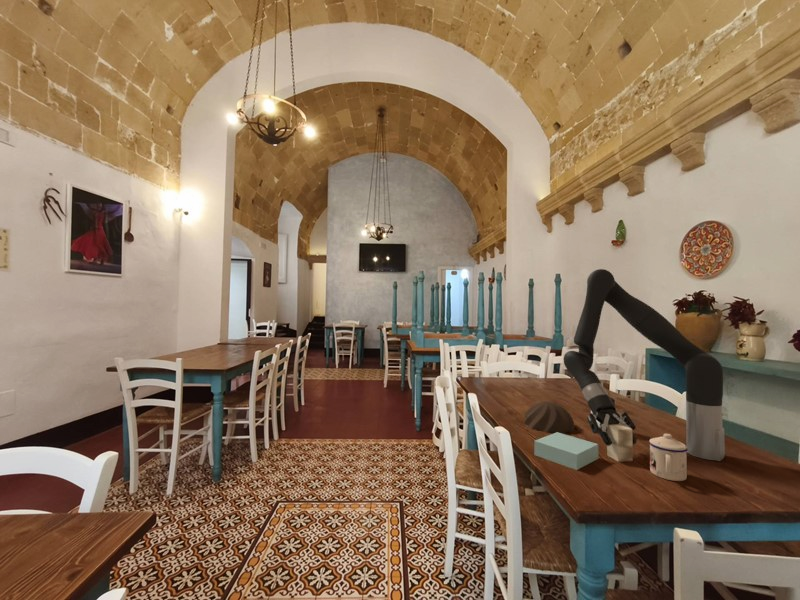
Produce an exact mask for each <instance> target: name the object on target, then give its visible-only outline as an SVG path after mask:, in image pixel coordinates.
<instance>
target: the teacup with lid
mask: <svg viewBox="0 0 800 600" xmlns="http://www.w3.org/2000/svg"><path fill="white" fill-rule="evenodd" d="M648 444H649V470H650V473H651V474H653V475H654V476H656V477H658V478H661V479H663V480H668V481H673V482H683V481H686V480H687V478H688V475H687V474H688V473H687V471H688V470H687V465H688V464H687V460H688V459H687V454H688V452H687V450H688V449H687V447H686V444H685V443H683V442H682V441H679V440H677V439H675V438H673V436H672V434H670V433H663V436H659V437H652V438H650V439H649V441H648Z"/></svg>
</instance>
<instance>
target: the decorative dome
mask: <svg viewBox="0 0 800 600" xmlns="http://www.w3.org/2000/svg"><path fill="white" fill-rule="evenodd" d="M524 414H525V415H524V419H525V420H524V421H523V425H525V424H526V426H527V425H528V426H527V427H529V426H530V427H529V428H530V429H531V428H532V429H531V430H535V429H536V430H537V431H540V432H543V433H548V434H549V433H551V432H553V433H554V432H555V433H556V432H558V433H562V434H566V433H568V432H569V433H570V432H572V433H573V432H574V431H575V423H574V419H573V417H572V415H571V414H570V412H568V410H566V409H565V408H564V407H563V406H561V405H559V404H558V403H555V402H553V401H546V400H545V401H539V402H537V403H535V404H533V405H532V406H531V407H530V408H529V409H527V410H526V412H525V413H524ZM551 434H552V433H551Z"/></svg>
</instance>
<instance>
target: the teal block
mask: <svg viewBox="0 0 800 600" xmlns="http://www.w3.org/2000/svg"><path fill="white" fill-rule="evenodd" d="M533 442H534V443H533V444H534V446H533V447H534V449H533V450H534V456H536V457H539V458H542V459H544V460H547V461H550V462H553V463H556V464H559V465H562V466H563V467H566V468H569V469H572V470H575V471H578V470H580V469H581V468H583V467H586V466H587V465H589V464H591V463H593V462H594V461H597V460H599V443H595V442H591V441H589V440H585V439H582V438H578V437H575V436H572V435H568V434H566V433H563V434H562V433H558V432H556V433H554V432H553V433H551V434H549V435H548V434H547V435H545V436H544V437H540V438H538V439H535V440H534V441H533Z"/></svg>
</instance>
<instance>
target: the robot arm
mask: <svg viewBox="0 0 800 600" xmlns="http://www.w3.org/2000/svg"><path fill="white" fill-rule="evenodd" d="M586 285H587V286H586V296H585V300H584V305H583V308H582V312H581V314H580V317H579V320H578V324H577V327H576V330H575V334H574V337H573V343H574V345H577V346H578V351H576V350H570V351H569V350H568V351H567V352H565V354H564V356H563V364H564V366H565V368H566V370H567V372H569V373H570V375H571V376H572V377H573V378H574V380H576V382H577V383H578V386H579V388H580V389H581V391H582V394H583V398H584V400H585V401H586V403H587V406H588V407H589V409H590V413H589V415H587V416H586V419H587V422H588V424H589V427H590V428H591V431H592V433H593V434H598V435H600V437H601V439H602V440H603V443H604V444H605V445H606V447H607V446H610V445H611V444H612V441H611V439H610V437H609V435H608V433H607V432H605V431H606V427H607V425H612V424H619V423H620V424H622V425H624V426H626V427H629V428H631V429H632V441H633V446H634V445H636V444H637V441H638V440H637V438H636V436H635V435H634V430H636V428H637V427H636V425H635V424H634V422H633V420H632V418H630V416H629V414H628V413H627V412H626V411H624V412H623V413H620V414H618V413H619V412H618V411H617V410H616V405H614V404H613V402H612V400H611V398H612V397H611V396H610V395H609V393H608V391H607V389H606V388H605V386H604V385H603V384H602V382H601V381H600V378H599V376H598V375H597V373H595V372H594V371H592V370H590V369H591V368H592V366H593V363H594V344H595V341H596V338H597V334H598V330H599V326H600V320H601V315H602V311H603V306H604V304H605V302H606V304H608V305H609V306H611V307H612V308H613V309H615V310H616V311H617V312H618V314H620V316H621V318H623V319H624V320H625V321H626V322H627V323H628V324H629V325H630V326H632V328H634V329H635V330H636V331H637V332H638V333H639V334H640V335H642V336H643V337H644V338H646V339H647V340H649V342H652V343H653V344H654V345H656V346H658V347H660V348H661V349H662V350H664V351H665V352H667V353H668V354H669V355H671V356H672V357H673V358H674V359H675V360H676V361H677V362H678V363H679V364H680V365H681V366H682V367H683V369H684V370H685V401H686V402H685V415H686V416H685V417H686V418H685V419H686V420H685V423H686V424H685V425H686V426H685V428H686V430H685V431H686V432H685V433H686V438H685V439H686V444H685V445H686V447H687V449H688V450H687V451H686V453H687V454H689V455H691V456H693V457H697V458H700V459H704V460H709V461H717V462H721V461H723V459H724V458H725V455H726V454H725V428H724V427H723V398H724V371H723V370H724V369H723V366H722V364H721V363H720V361H719V360H718V359H717V358H716V357H715V356H713V355H712V354H709V353H708V352H706V351H704V350H703V349H702V348H700V347H699V346H697V345H696V344H695V343H693V342H691V341H690V340H688V339H687V338H686V337H685V336H684V335H683V333H681V332H680V330H678V329H677V327H675V325H674V324H673V323H671V322H670V321H669V320H668V319H667V318H666V317H664V316H663V314H661V313H660V312H659V311H657V310H656V309H654V308H653V307H652V306H650V305H649V304H647V303H646V302H644V301H643V300H640V299H638V298H636V297H635V296H633V295H631V294H630V293H629V292H627V291H626V290H625V289H624V288H623V287H622V286H621V285H620V284H619V283H618V282H617V281H616V280H615V277H614V275H613V274H612V272H610V271H609V270H607V269H604V268H600V269H599V268H598V269H595V270H593V271H592V272H591V273H590V274H589V275H588V277H587V281H586ZM610 397H611V398H610ZM591 411H592V413H593V414H592V413H591ZM617 412H618V413H617ZM596 420H597V421H598V422H600V425H599V426H598V424H597V422H596Z"/></svg>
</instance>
